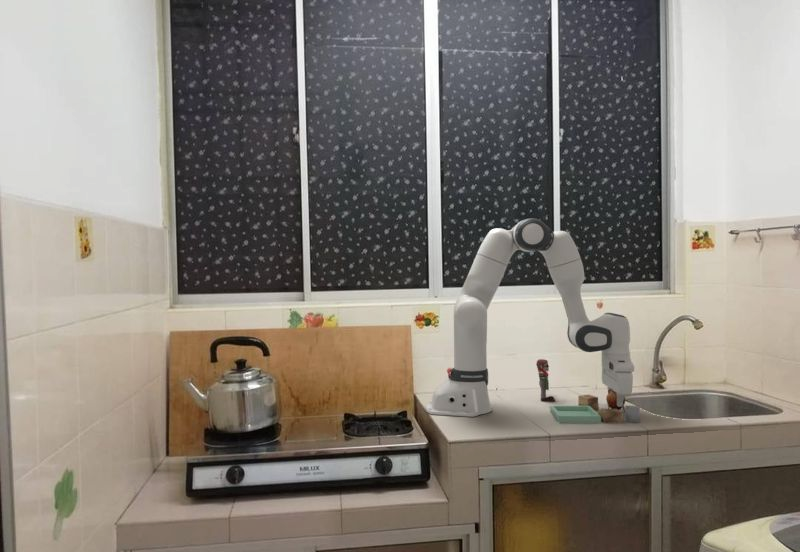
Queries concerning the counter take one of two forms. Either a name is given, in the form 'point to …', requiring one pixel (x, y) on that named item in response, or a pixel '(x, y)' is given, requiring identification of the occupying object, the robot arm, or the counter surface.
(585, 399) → the oak cube
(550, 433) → the counter surface
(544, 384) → the toy
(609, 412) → the walnut block
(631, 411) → the blue-grey cube
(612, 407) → the pot
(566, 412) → the tray
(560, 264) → the robot arm
